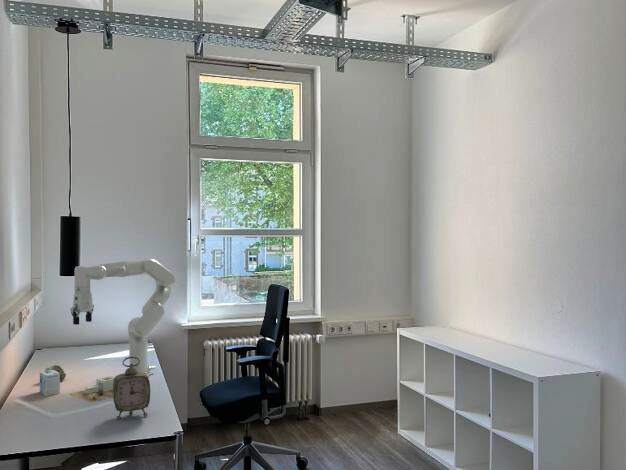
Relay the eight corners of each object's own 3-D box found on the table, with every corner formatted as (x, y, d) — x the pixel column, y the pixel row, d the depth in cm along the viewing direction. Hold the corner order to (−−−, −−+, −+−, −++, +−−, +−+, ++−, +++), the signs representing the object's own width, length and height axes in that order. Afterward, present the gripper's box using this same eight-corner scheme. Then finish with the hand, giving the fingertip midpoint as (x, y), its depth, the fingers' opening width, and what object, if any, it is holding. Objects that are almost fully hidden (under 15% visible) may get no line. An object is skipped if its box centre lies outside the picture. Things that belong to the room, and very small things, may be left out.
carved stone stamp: (57, 383, 290) (48, 366, 290) (43, 391, 291) (34, 373, 292) (70, 377, 300) (61, 360, 301) (56, 385, 302) (48, 368, 303)
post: (101, 394, 266) (101, 381, 266) (103, 395, 265) (103, 382, 265) (97, 395, 265) (97, 382, 265) (99, 395, 263) (99, 383, 263)
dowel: (94, 398, 259) (94, 393, 259) (96, 399, 258) (96, 393, 258) (92, 399, 258) (92, 393, 258) (93, 399, 257) (93, 394, 257)
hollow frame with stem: (109, 386, 280) (109, 376, 280) (117, 388, 276) (117, 378, 276) (82, 392, 270) (82, 381, 270) (89, 394, 265) (89, 384, 265)
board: (110, 387, 284) (110, 384, 284) (134, 394, 269) (134, 392, 269) (67, 396, 267) (67, 394, 267) (91, 405, 253) (91, 402, 253)
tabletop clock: (113, 421, 230) (113, 360, 230) (112, 415, 238) (112, 356, 238) (150, 417, 235) (150, 357, 235) (147, 411, 244) (147, 353, 244)
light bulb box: (39, 393, 272) (39, 371, 272) (54, 391, 277) (53, 369, 277) (45, 398, 264) (45, 375, 264) (60, 395, 268) (60, 373, 269)
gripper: (77, 291, 282) (77, 325, 282) (99, 288, 299) (99, 320, 299) (64, 291, 284) (64, 325, 284) (87, 288, 301) (87, 320, 301)
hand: (82, 323), depth 291 cm, fingers open, 9 cm apart
